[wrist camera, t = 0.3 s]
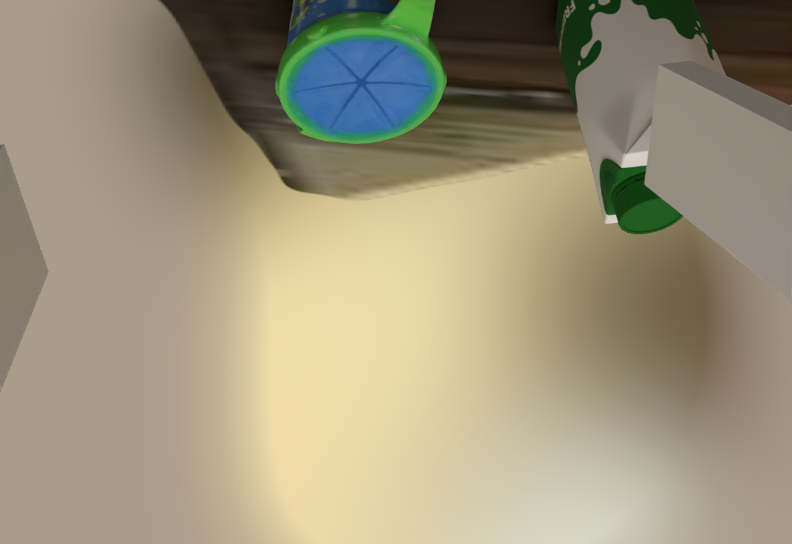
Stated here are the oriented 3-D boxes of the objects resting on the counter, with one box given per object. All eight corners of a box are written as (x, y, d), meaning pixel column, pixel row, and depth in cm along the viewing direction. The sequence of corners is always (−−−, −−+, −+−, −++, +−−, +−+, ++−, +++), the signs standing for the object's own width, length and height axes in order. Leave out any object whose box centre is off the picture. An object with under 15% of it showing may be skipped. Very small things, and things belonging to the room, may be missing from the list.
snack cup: (347, 79, 60) (356, 182, 55) (228, 23, 54) (227, 133, 49) (482, -61, 50) (509, 49, 45) (355, -151, 44) (370, -34, 39)
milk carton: (551, -60, 50) (626, 179, 41) (685, -80, 50) (792, 156, 40) (541, 37, 58) (602, 258, 48) (657, 20, 58) (741, 238, 48)
